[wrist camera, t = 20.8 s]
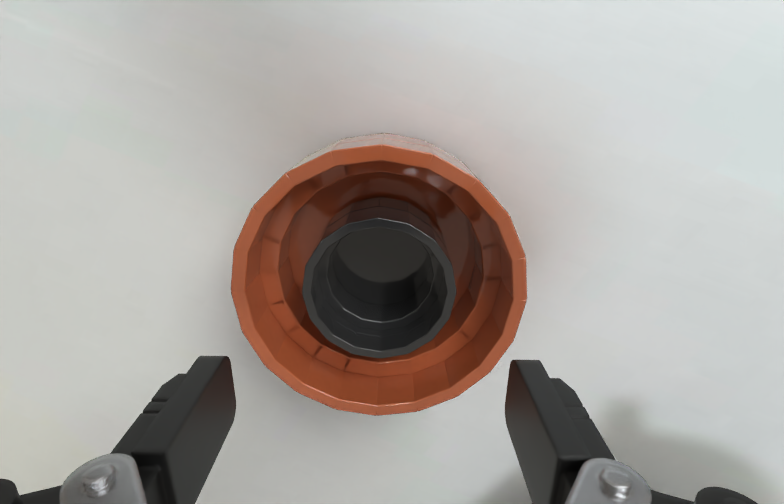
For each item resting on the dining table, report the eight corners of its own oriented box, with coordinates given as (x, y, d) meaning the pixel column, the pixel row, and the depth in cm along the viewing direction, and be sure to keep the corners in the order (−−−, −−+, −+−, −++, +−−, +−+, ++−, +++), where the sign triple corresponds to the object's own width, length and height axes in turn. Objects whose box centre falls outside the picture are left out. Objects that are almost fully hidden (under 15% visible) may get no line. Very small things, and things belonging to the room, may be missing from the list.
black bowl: (328, 184, 21) (312, 205, 17) (458, 208, 22) (472, 234, 18) (311, 302, 23) (294, 345, 20) (430, 322, 24) (436, 368, 20)
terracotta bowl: (276, 110, 21) (242, 116, 16) (529, 159, 21) (567, 179, 17) (255, 334, 25) (223, 392, 20) (467, 370, 26) (483, 433, 21)
